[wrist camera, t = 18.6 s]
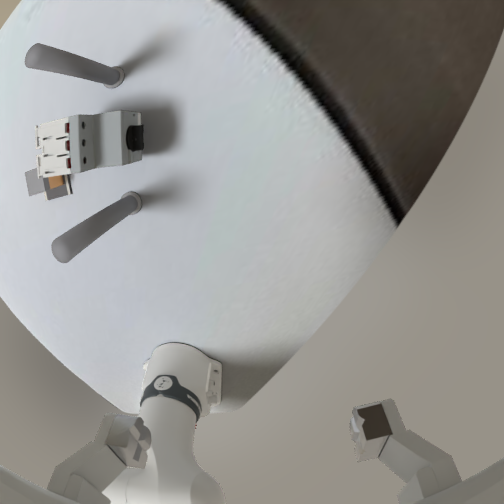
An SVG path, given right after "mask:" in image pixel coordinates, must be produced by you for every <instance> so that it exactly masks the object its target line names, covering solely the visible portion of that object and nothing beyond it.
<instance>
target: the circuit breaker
mask: <svg viewBox="0 0 504 504" xmlns="http://www.w3.org/2000/svg"><path fill="white" fill-rule="evenodd" d="M38 138H39V139H40V145H39V140H38ZM35 141H36V149H41V148H42V154H39V155H36V160H37V172H38V179H39V178H41V175H43V178H46V177H52V176H59V175H66V174H73V173H81V172H84V171H88V170H91V169H95V168H103V167H113V166H122V165H126V164H131V163H133V162H137V161H140V160H142V150H143V149H144V143H143V125H141V113H138V112H131V111H124V110H119V111H113V112H107V113H101V114H96V115H74V116H70V117H66V118H62V119H58V120H54V121H51V122H47V123H43V124H40V127H39V128H38V126H35ZM39 158H40V159H41V165H40V159H39Z"/></svg>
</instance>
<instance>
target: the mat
mask: <svg viewBox="0 0 504 504" xmlns="http://www.w3.org/2000/svg"><path fill="white" fill-rule="evenodd" d="M39 159H40V158H39ZM40 165H41V159H40ZM62 178H63V184H64V185H61V186H58V187H55V188H53V189H50V190H48V191H45V192H44V195H45V200H46V201H47V200H51V199H54V198H58V197H62V196H65V195H69V194H72V191H71V186H70V181H69V175H68V174H66V175H62Z"/></svg>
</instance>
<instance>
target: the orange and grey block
mask: <svg viewBox="0 0 504 504" xmlns="http://www.w3.org/2000/svg"><path fill="white" fill-rule="evenodd" d="M25 176H26V182H27V187H28V192H29V196H32V195H35V194H38V193H42V192H45V191H48V190H50V189H53V188H55V187H58V186H61V185H64V184H63V178H62V175H59V176H52V177H46V178H43V175H41V178H39V179H38V172H37V168H35V169H33V170H30V171H28V172H25Z"/></svg>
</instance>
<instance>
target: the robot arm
mask: <svg viewBox="0 0 504 504" xmlns="http://www.w3.org/2000/svg"><path fill="white" fill-rule="evenodd" d="M143 368H144V370H145V371H146V372H145V375H144V379H143V383H142V390H143V391H144V392H143V394H142V397H141V402H140V407H141V408H140V411H139V414H138V417H135V416H126V415H120V414H113V413H107V414H106V415H105V416H104V418H103V420H102V423H101V425H100V428H99V430H98V433H97V435H96V437H95V440H94V442H89V443H88V444H87V445H85V446H84V447H83V448H81V449H80V450H79V451H77V452H76V453H74V454H73V455H72V456H70V457H69V458H67V459H66V460H65V461H63V462H62V463H60V464H59V465H58V466H56V467H55V470H54V472H53V475H52V477H51V480H50V482H49V485H48V487H47V489H45V488H43V487H41V486H39V485H36V484H34V483H32V482H30V481H29V480H26V479H25V478H23V477H21V476H19V475H17V474H15V473H13V472H12V471H10V470H8V469H7V468H5V467H3V466H2V465H0V504H226V498H225V494H224V491H223V489H222V487H221V486H220V484H219V483H218V481H217V480H216V479H215V478H214V477H212V476H211V475H210V474H208V473H207V472H205V471H204V470H203V469H202V468H201V467H200V466H199V465H198V463H197V461H196V459H195V456H194V452H193V441H194V432H195V429H196V428H195V426H197V425H196V423H197V421H198V419H199V418H200V417H204V416H207V415H208V414H209V413H210V409H211V407H214V406H217V405H219V404H220V402H221V381H222V364H221V363H220V362H218V361H216V360H213V359H210V358H208V357H207V356H206V355H205V354H203V353H202V352H201V351H199V350H198V349H196V348H194V347H191V346H189V345H185V344H180V343H168V344H163V345H161V346H159V347H157V348H156V349H155V350H154V351H153V353H152V355H151V358H150V359H149V360H147V361H146V362H145V363H144V365H143ZM352 413H353V417H352V418H351V421H350V433H351V438H352V440H353V441H354V442H356V445H355V448H354V450H355V454H356V458H357V462H361V461H366V460H370V459H375V458H378V459H379V460H380V461H382V462H383V463H384V464H385V465H386V466H387V467H388V468H389V469H391V470H392V471H393V472H394V473H395V474H396V475H398V476H399V477H400V478H401V479H402V480H403V481H404V482H406V483H407V484H406V485H405V486H404V487H403V488H402V489H401V491H400V492H399V493H398V495H397V497H398V501H399V504H504V458H502V459H501V460H499V461H497V462H496V463H494V464H493V465H491V466H489V467H488V468H486V469H484V470H482V471H481V472H479V473H477V474H475V475H474V476H472V477H470V478H468V479H466V480H464V481H462V480H461V478H460V475H459V473H458V470H457V468H456V465H455V463H454V461H453V458H452V456H451V455H449V454H447V453H446V452H444V451H442V450H441V449H439V448H438V447H436V446H434V445H433V444H431V443H430V442H428V441H426V440H425V439H423V438H422V437H420V436H419V435H417V434H415V433H414V432H412V431H411V430H407V431H406V429H405V426H404V424H403V421H402V419H401V417H400V414H399V412H398V410H397V407H396V405H395V402H394V401H393V400H392V399H387V400H383V401H380V402H374V403H370V404H366V405H361V406H357V407H354V409H353V412H352ZM146 462H147V463H146ZM127 466H129V467H135V468H127Z"/></svg>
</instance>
